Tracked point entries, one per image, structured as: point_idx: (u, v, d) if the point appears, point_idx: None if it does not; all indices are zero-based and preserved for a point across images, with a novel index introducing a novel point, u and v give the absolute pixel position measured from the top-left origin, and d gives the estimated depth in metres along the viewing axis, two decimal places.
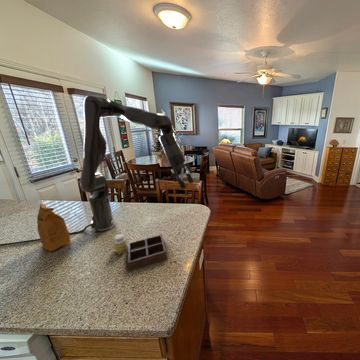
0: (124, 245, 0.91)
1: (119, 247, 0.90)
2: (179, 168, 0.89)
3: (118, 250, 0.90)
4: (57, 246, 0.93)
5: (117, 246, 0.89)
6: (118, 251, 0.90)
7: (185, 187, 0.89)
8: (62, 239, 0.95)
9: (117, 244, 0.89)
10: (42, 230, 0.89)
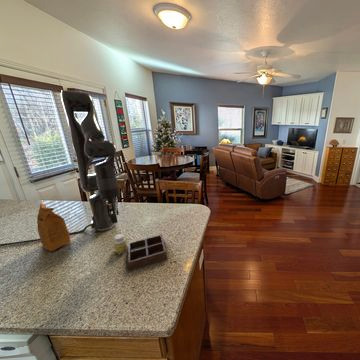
0: (124, 245, 0.91)
1: (119, 247, 0.90)
2: (114, 201, 0.83)
3: (118, 250, 0.90)
4: (57, 246, 0.93)
5: (117, 246, 0.89)
6: (118, 251, 0.90)
7: None
8: (62, 239, 0.95)
9: (117, 244, 0.89)
10: (42, 230, 0.89)
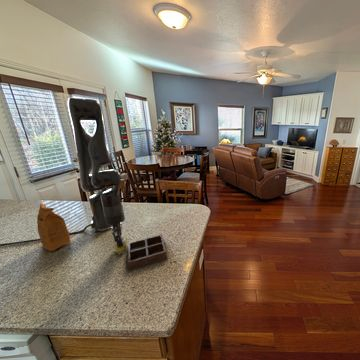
0: (124, 245, 0.91)
1: (119, 247, 0.90)
2: (119, 228, 0.87)
3: (118, 250, 0.90)
4: (57, 246, 0.93)
5: None
6: (118, 251, 0.90)
7: (122, 245, 0.90)
8: (62, 239, 0.95)
9: None
10: (42, 230, 0.89)
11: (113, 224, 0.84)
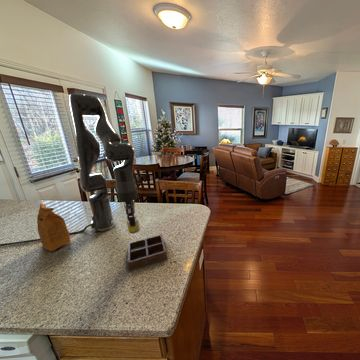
0: (137, 225, 0.87)
1: None
2: (132, 205, 0.83)
3: (131, 229, 0.86)
4: (57, 246, 0.93)
5: None
6: (130, 231, 0.86)
7: None
8: (62, 239, 0.95)
9: None
10: (42, 230, 0.89)
11: (126, 201, 0.80)
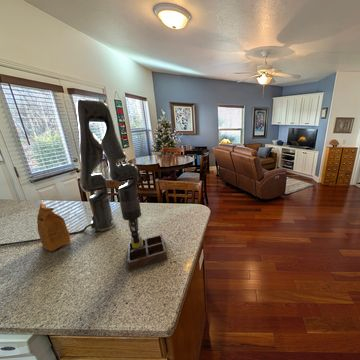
0: (140, 241, 0.90)
1: (135, 243, 0.88)
2: (136, 223, 0.85)
3: (134, 246, 0.89)
4: (57, 246, 0.93)
5: (133, 242, 0.88)
6: (134, 247, 0.89)
7: None
8: (62, 239, 0.95)
9: (133, 240, 0.88)
10: (42, 230, 0.89)
11: (130, 219, 0.83)
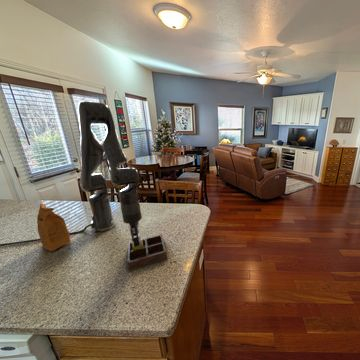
0: (141, 245, 0.90)
1: (136, 246, 0.89)
2: (136, 225, 0.86)
3: None
4: (57, 246, 0.93)
5: None
6: None
7: (139, 244, 0.87)
8: (62, 239, 0.95)
9: None
10: (42, 230, 0.89)
11: (131, 222, 0.83)
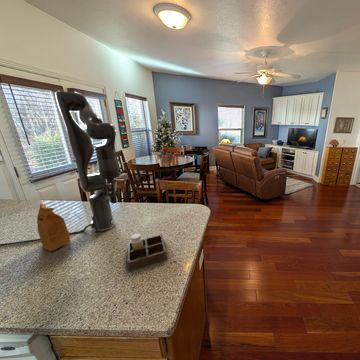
0: (141, 245, 0.90)
1: (136, 246, 0.89)
2: (113, 182, 0.87)
3: None
4: (57, 246, 0.93)
5: (134, 246, 0.89)
6: None
7: (116, 202, 0.88)
8: (62, 239, 0.95)
9: (134, 244, 0.88)
10: (42, 230, 0.89)
11: (107, 178, 0.84)
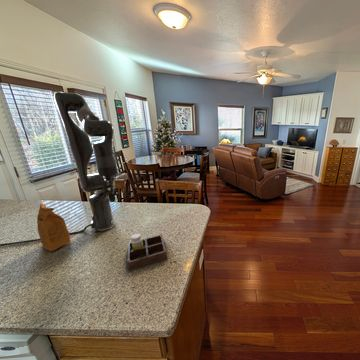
0: (141, 245, 0.90)
1: (136, 246, 0.89)
2: (111, 179, 0.87)
3: None
4: (57, 246, 0.93)
5: (134, 246, 0.89)
6: None
7: None
8: (62, 239, 0.95)
9: (134, 244, 0.88)
10: (42, 230, 0.89)
11: (105, 175, 0.85)
